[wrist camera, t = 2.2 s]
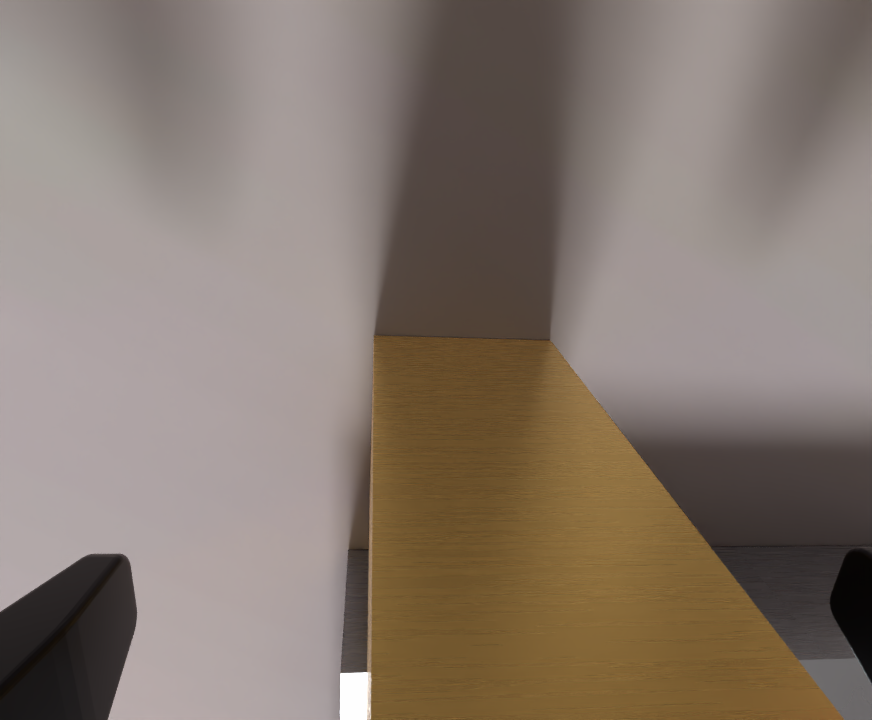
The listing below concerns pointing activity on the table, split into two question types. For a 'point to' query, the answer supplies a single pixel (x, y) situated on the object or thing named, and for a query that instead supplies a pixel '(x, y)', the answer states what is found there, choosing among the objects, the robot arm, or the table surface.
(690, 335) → the table surface
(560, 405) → the gold square pillar
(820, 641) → the bracket
